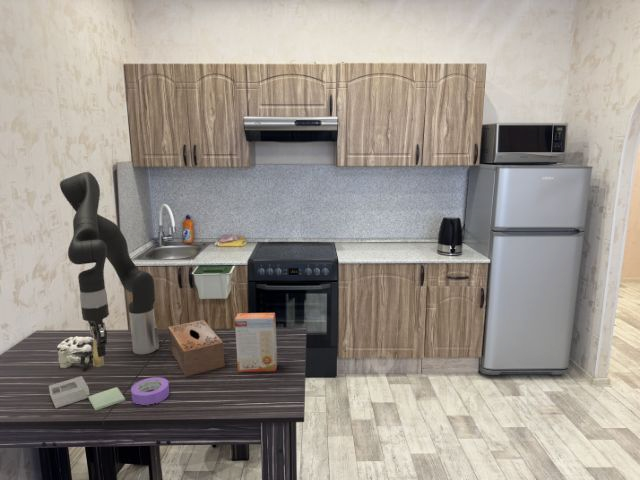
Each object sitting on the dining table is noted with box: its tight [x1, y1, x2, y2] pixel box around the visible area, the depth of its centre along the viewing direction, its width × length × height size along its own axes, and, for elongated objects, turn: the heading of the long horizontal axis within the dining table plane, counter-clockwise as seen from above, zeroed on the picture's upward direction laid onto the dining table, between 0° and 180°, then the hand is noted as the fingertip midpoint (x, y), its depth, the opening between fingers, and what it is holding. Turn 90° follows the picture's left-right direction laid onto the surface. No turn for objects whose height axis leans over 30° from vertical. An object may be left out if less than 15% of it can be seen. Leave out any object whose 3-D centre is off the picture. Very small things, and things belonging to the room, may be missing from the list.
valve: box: [57, 348, 93, 370], centre depth 170 cm, size 7×7×12 cm
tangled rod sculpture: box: [57, 335, 93, 355], centre depth 186 cm, size 19×14×4 cm
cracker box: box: [234, 312, 278, 373], centre depth 165 cm, size 14×6×21 cm, turn 89°
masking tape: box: [130, 376, 170, 406], centre depth 150 cm, size 12×12×4 cm
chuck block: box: [48, 375, 91, 409], centre depth 150 cm, size 10×10×4 cm
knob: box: [92, 325, 107, 368], centre depth 144 cm, size 4×4×12 cm
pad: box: [87, 386, 126, 411], centre depth 148 cm, size 9×9×1 cm
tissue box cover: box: [167, 319, 226, 377], centre depth 176 cm, size 26×14×10 cm, turn 30°
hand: (100, 353), depth 145 cm, fingers closed on knob, 3 cm apart
